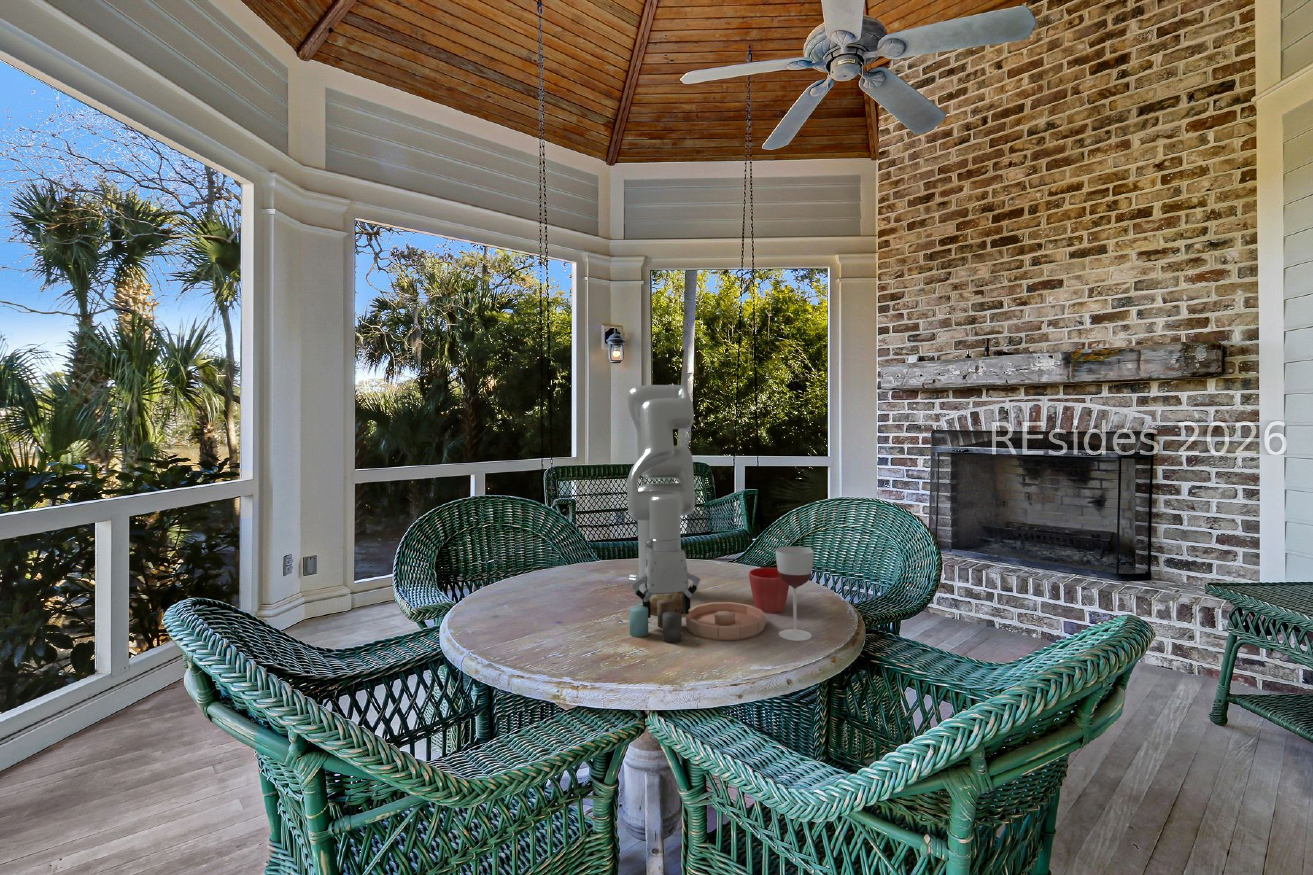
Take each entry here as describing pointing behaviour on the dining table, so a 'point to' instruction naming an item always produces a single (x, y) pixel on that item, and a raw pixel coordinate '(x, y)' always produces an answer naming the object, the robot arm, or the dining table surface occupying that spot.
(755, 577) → the flower pot
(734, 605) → the groove dish
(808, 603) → the dining table surface
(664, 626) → the bead
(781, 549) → the wineglass
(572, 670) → the dining table surface
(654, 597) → the bread roll
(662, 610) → the bead
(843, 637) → the dining table surface
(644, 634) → the teal capsule
